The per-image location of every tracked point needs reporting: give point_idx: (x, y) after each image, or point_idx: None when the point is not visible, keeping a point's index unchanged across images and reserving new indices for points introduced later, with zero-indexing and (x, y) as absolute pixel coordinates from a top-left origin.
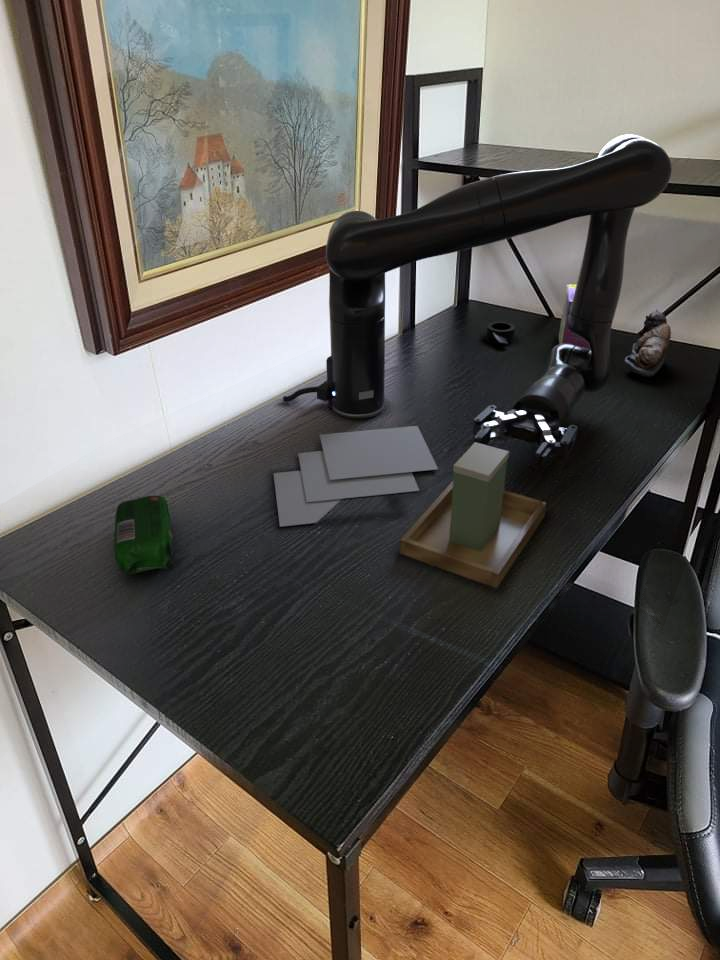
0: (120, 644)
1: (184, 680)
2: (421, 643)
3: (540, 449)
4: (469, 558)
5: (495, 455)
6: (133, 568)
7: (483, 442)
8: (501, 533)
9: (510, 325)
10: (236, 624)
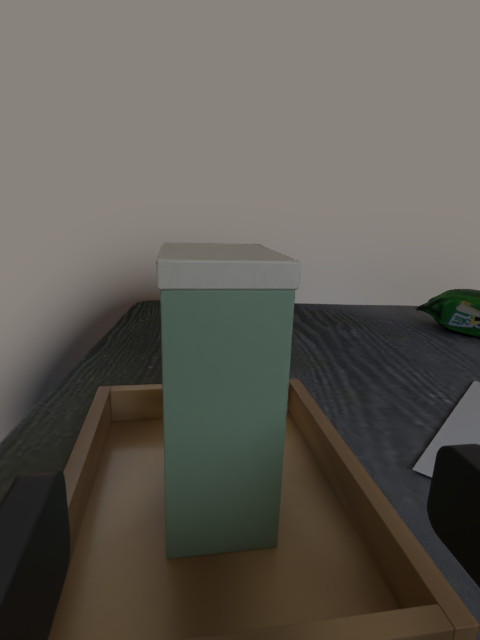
0: (362, 309)
1: (299, 309)
2: None
3: (14, 520)
4: None
5: (190, 253)
6: (429, 300)
7: (469, 518)
8: (146, 534)
9: None
10: (326, 327)
